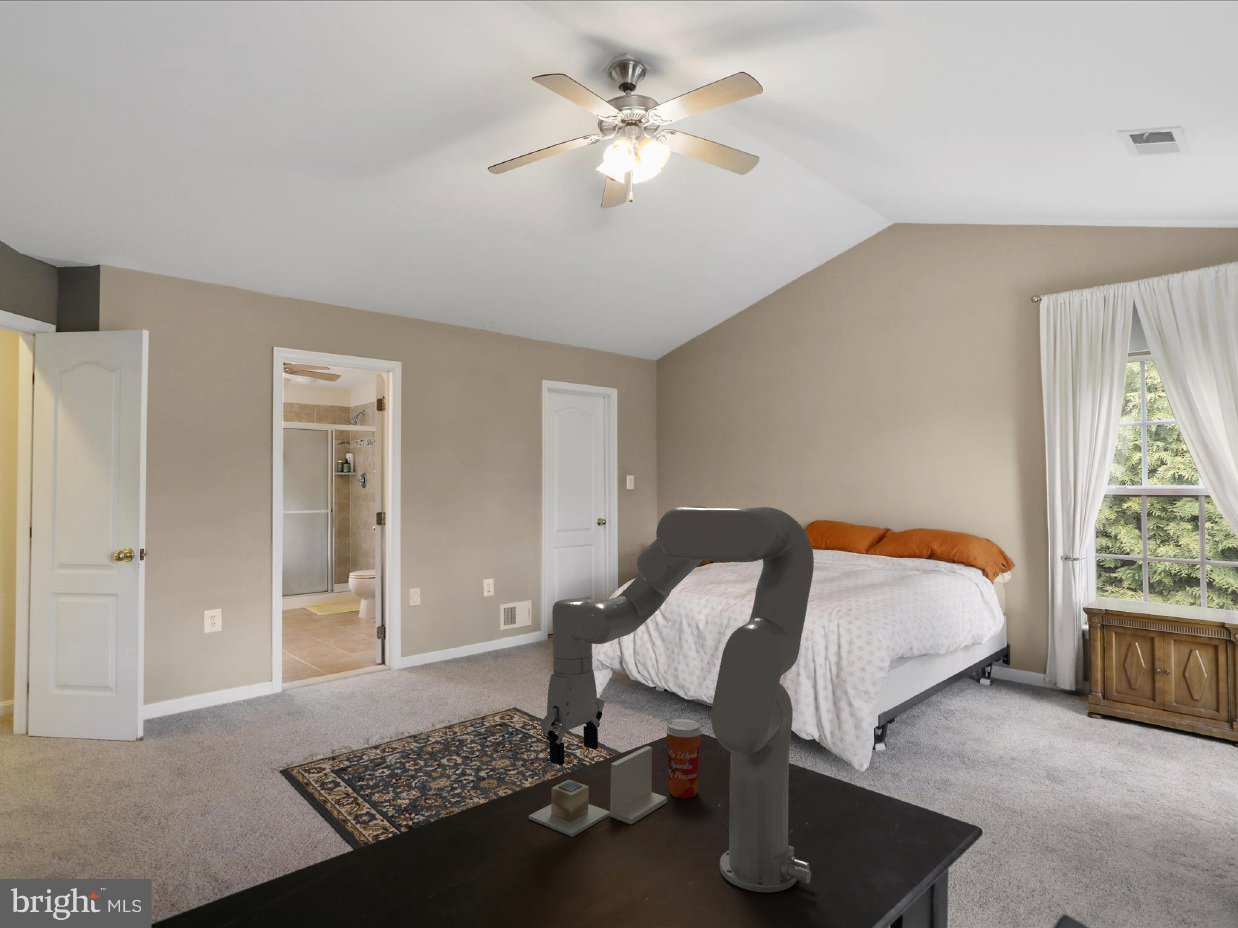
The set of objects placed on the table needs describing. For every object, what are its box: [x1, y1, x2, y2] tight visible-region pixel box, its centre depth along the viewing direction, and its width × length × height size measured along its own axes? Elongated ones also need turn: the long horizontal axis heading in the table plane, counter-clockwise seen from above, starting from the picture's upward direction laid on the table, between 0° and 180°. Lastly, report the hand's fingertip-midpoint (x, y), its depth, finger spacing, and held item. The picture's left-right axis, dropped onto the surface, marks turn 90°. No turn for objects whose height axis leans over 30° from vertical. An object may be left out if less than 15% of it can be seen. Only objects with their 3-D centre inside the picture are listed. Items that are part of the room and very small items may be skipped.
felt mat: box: [528, 803, 610, 838], centre depth 136 cm, size 11×11×1 cm
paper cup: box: [665, 718, 704, 799], centre depth 148 cm, size 8×8×14 cm
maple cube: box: [550, 779, 590, 822], centre depth 136 cm, size 5×5×5 cm
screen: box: [609, 745, 668, 825], centre depth 140 cm, size 5×12×10 cm, turn 142°
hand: (574, 755), depth 136 cm, fingers open, 9 cm apart
